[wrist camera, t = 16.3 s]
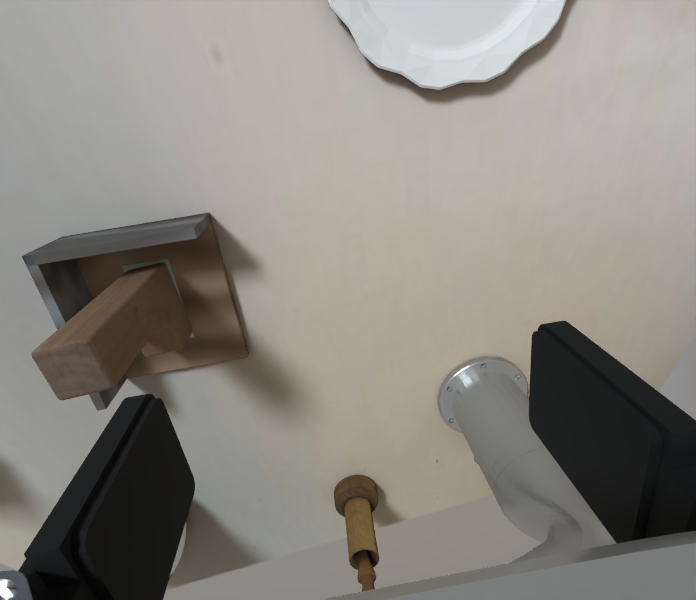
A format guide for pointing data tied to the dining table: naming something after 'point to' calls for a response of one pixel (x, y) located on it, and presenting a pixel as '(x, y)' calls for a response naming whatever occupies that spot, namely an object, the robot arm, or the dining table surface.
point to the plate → (447, 35)
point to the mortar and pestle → (359, 524)
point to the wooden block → (115, 333)
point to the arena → (138, 251)
